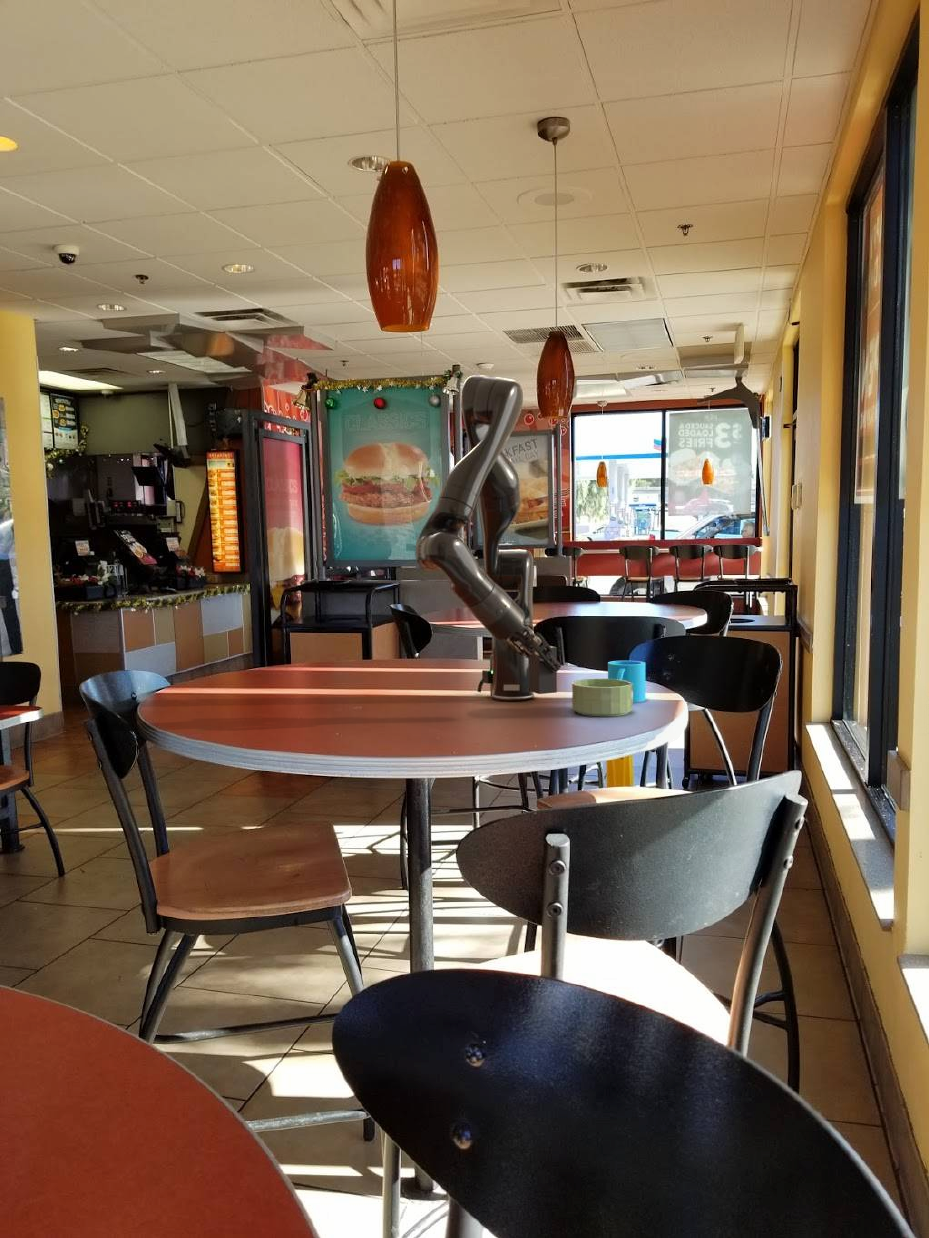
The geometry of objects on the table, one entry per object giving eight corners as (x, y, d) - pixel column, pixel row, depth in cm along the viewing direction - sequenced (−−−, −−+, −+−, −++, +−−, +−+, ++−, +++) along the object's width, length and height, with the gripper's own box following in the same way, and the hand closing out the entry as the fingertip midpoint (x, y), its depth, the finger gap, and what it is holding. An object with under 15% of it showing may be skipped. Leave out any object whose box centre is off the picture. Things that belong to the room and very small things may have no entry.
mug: (612, 695, 210) (612, 660, 209) (648, 697, 206) (648, 661, 206) (599, 704, 199) (599, 666, 198) (637, 706, 195) (637, 668, 195)
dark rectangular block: (539, 694, 181) (538, 648, 180) (528, 690, 185) (528, 646, 184) (556, 692, 182) (556, 647, 181) (545, 689, 186) (545, 644, 185)
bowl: (560, 711, 191) (560, 682, 191) (603, 704, 198) (603, 676, 198) (600, 719, 181) (600, 689, 181) (645, 712, 188) (645, 683, 188)
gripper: (525, 598, 172) (581, 658, 178) (491, 594, 185) (545, 650, 191) (500, 627, 170) (557, 687, 176) (468, 621, 183) (522, 677, 189)
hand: (550, 668), depth 184 cm, fingers closed on dark rectangular block, 4 cm apart
